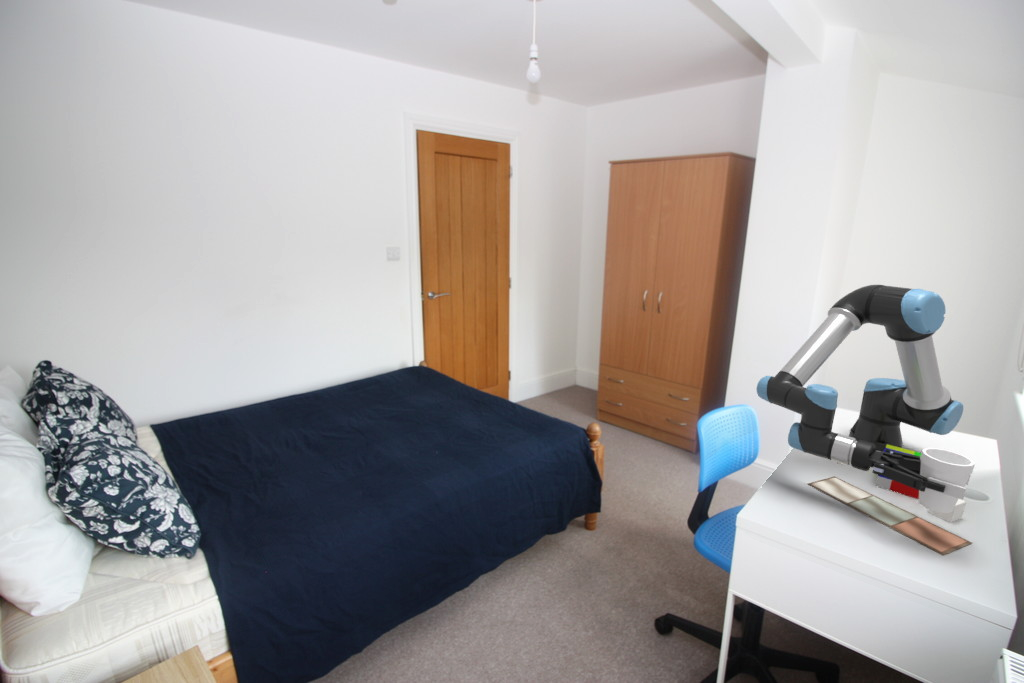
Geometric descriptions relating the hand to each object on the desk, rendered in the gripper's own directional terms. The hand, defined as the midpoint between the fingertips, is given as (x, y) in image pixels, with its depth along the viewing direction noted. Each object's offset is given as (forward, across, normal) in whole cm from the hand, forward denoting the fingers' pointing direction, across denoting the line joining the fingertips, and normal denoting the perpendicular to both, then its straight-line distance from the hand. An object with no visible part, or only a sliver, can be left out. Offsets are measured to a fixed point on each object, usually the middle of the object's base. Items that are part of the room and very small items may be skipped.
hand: (966, 486), depth 115 cm
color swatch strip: (-15, -4, -15) cm, 22 cm away
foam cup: (-4, 0, -7) cm, 9 cm away
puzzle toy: (-14, -24, -16) cm, 32 cm away
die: (-3, -15, -15) cm, 21 cm away
